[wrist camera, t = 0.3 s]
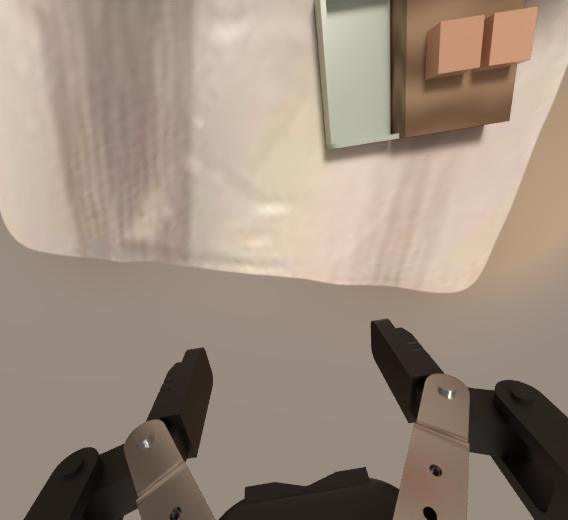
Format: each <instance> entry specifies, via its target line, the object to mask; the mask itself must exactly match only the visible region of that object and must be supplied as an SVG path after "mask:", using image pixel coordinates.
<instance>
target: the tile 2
mask: <svg viewBox="0 0 568 520" xmlns="http://www.w3.org/2000/svg"><path fill="white" fill-rule="evenodd" d="M537 13H538V6H537V7H530V8H524V9H518V10H511V11H505V12H498V13H494V14H492V15H491V16H489V17H488V18H486V19H484V29H483V39H482V50H481V60H480V68H477V69H475V70H472V73H474V72H480V71H486V70H493V69H499V68H505V67H511V66H514V65H516V64H519V63H522V62H525V61H527V60H530V58H531V52H532V45H533V39H534V32H535V26H536V19H537Z"/></svg>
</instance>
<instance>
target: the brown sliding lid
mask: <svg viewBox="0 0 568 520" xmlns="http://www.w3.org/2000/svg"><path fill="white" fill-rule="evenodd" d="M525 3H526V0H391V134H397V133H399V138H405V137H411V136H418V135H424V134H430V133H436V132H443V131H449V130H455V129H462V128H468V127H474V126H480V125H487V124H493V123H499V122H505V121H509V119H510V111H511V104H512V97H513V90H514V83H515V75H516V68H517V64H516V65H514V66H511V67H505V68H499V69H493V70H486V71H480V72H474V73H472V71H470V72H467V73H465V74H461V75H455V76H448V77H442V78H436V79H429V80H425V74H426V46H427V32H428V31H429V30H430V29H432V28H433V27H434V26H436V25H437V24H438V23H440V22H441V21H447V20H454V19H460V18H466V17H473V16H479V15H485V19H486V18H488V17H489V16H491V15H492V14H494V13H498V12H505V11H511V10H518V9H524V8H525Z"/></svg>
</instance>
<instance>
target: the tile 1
mask: <svg viewBox="0 0 568 520" xmlns="http://www.w3.org/2000/svg"><path fill="white" fill-rule="evenodd" d="M484 19H485V15H479V16H473V17H466V18H460V19H454V20H447V21H441V22H440V23H438V24H437V25H436V26H434V27H433V28H432V29H430V30H429V31H428V32H427V46H426V74H425V80H429V79H436V78H442V77H448V76H455V75H461V74H465V73H467V72H470V71H472V70H475V69H477V68H480V60H481V50H482V39H483V29H484Z"/></svg>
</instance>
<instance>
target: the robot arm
mask: <svg viewBox="0 0 568 520" xmlns="http://www.w3.org/2000/svg"><path fill="white" fill-rule="evenodd" d="M371 348H372V354H373V357H374V360H375V362H376V364H377V365H378V367H379V369H380V371H381V373H382V374H383V376H384V378H385V380H386V382H387V384H388V386H389V388H390V389H391V391H392V393H393V395H394V397H395V398H396V401H397V402H398V404H399V406H400V408H401V410H402V412H403V413H404V415H405V417H406V419H407V421H408V423H413V422H415V423H414V427H413V431H412V435H411V440H410V444H409V449H408V453H407V458H406V462H405V467H404V471H403V476H402V480H401V485H400V489H398V488H396V487H394V486H392V485H391V484H388V483H386V482H384V481H381V480H377V479H373V478H369V477H368V473H367V470H366V467H363V468H357V469H351V470H345V471H339V472H335V473H333V474H331V475H329V476H327V477H325V478H323V479H321V480H319V481H317V482H315V483H313V484H311V485H308V486H299V485H292V484H285V483H277V482H273V483H267V484H261V485H255V486H249V487H245V499H243V500H241V501H240V502H238V503H237V504H235V505H234V506H232V507H231V508H230V509H229V510H228V511H226V512H225V513H224V515H223V516H222V517H221V518H220V519H219V520H467V505H468V477H469V452H473V453H479V454H485V455H490V456H491V457H492V459H493V460H494V461H495V463H496V464H497V466H498V467H499V469H500V470H501V472H502V473H503V475H504V476H505V478H506V479H507V480H508V482H509V483H510V485H511V486H512V487H513V489H514V491H515V492H516V493H517V495H518V496H519V498H520V499H521V501H522V502H523V504H524V505H525V507H526V508H527V509H528V511H529V512H530V514H531V515H532V517H533V518H534V520H568V418H567V416H566V415H564V414H563V413H562V412H561V411H560V410H559V409H558V408H557V407H556V406H555V405H554V404H552V403H551V402H550V401H549V400H548V399H547V398H546V397H545V396H544V395H543V394H542V393H540V392H539V391H538V390H536V389H535V388H533V387H531V386H529V385H527V384H525V383H522V382H519V381H513V380H504V381H500V382H498V383H497V384H496V386H495V390H494V391H493V390H484V389H474V388H468V387H466V385H465V384H464V383H463V382H461V381H460V380H459V379H457V378H455V377H453V376H450V375H447V374H444V372H443V371H442V370H441V369H440V368H439V366H438V365H437V364H436V363H435V362H434V360H433V359H432V358H431V357H430V355H429V354H428V353H427V352H426V351H425V350H424V349H423V347H422V346H421V345H420V344H419V343H418V341H417V340H416V339H415V337H414V336H413V335H412V334H411V333H410V332H408V331H406V330H405V329H403V328H395V327H394V326H393V324H392V323H391V322H390V320H389V319H381V320H375V321H371ZM212 386H213V375H212V371H211V368H210V364H209V361H208V358H207V354H206V351H205V349H204V348H196V349H190V350H187V351H186V353H185V356H184V357H183V360H182V362H179V363H176V364H175V365H174V366H173V367H172V368H171V369H170V370H169V371H168V373H167V375H166V378H165V380H164V384H162V387H161V389H160V392H159V393H158V396H157V398H156V400H155V402H154V405H153V407H152V410H151V411H150V414H149V416H148V418H147V420H146V422H144V423H143V424H141V425H139V426H138V427H137V428H135V429H134V430H133V431H132V433H131V434H130V435H129V436H128V438H127V439H126V441H125V443H124V444H122V445H121V446H118V447H116V448H114V449H111V450H109V451H107V452H105V453H102V454H100V455H99V453H98V452H97V450H96V449H95V448H91V447H87V448H83V449H80V450H78V451H76V452H74V453H72V454H71V455H69V456H68V457H67V458H66V459H64V460H63V461H62V462H61V463H60V464H59V465H58V466H57V467H56V469H55V470H54V472H53V473H52V474H51V476H50V478H49V479H48V481H47V483H46V484H45V486H44V487H43V489H42V491H41V492H40V494H39V496H38V497H37V499H36V501H35V502H34V504H33V505H32V507H31V508H30V510H29V512H28V513H27V515H26V517H25V518H24V520H123V517H124V515H126V514H128V513H130V512H131V511H133V510H135V509H137V508H138V510H139V513H140V516H141V520H215V518H214V516H213V514H212V512H211V510H210V508H209V506H208V504H207V502H206V500H205V498H204V497H203V495H202V493H201V491H200V489H199V487H198V485H197V483H196V481H195V479H194V477H193V476H192V474H191V472H190V470H189V468H188V466H187V464H186V460H187V459H188V458H194V457H197V453H198V449H199V444H200V440H201V435H202V431H203V426H204V422H205V418H206V413H207V408H208V404H209V399H210V395H211V391H212Z"/></svg>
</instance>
